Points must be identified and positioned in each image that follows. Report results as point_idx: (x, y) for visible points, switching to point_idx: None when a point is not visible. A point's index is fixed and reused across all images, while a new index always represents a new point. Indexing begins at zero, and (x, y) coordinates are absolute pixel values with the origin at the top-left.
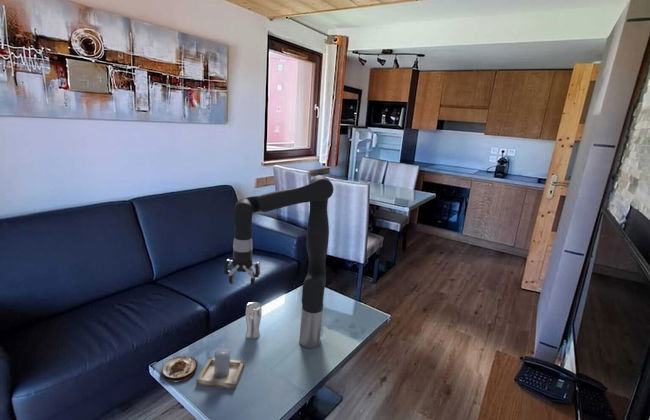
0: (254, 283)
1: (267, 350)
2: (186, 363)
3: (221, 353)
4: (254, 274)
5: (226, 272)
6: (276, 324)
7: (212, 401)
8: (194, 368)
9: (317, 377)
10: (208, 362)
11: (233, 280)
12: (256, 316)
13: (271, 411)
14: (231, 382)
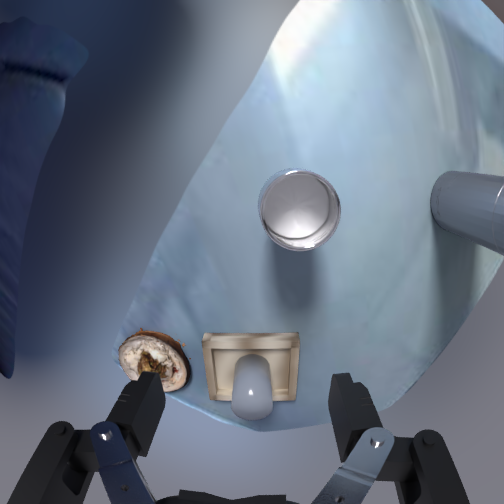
0: (360, 382)
1: (349, 261)
2: (160, 362)
3: (249, 409)
4: (385, 475)
5: (88, 472)
6: (350, 119)
7: None
8: (186, 370)
9: (456, 323)
10: (208, 357)
11: (153, 380)
12: (317, 236)
13: None
14: (287, 398)
